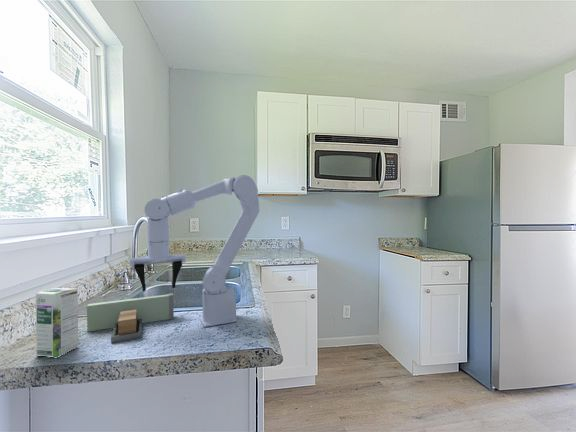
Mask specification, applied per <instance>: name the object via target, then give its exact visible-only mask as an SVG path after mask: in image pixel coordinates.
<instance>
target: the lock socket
mask: <svg viewBox="0 0 576 432" xmlns="http://www.w3.org/2000/svg"><path fill="white" fill-rule="evenodd" d="M137 326H138V331H137V332H134V333H128V334H122V335H118V333H117V332H118V322H117V323H115V325H114V328H112V333H111V335H110V344H114V343H120V341H121V342H126V340H127V341H131V339H133V340H136V339H137V338H138V339H142V333H143V323H142V319H137Z"/></svg>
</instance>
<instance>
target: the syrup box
mask: <svg viewBox="0 0 576 432" xmlns="http://www.w3.org/2000/svg"><path fill="white" fill-rule="evenodd" d="M78 297H79V296H78V288H77V287H76V288H75V287H74V288H70V287H69V288H67V287H66V288H65V287H53V288H49V289H48V288H47V289H45V290H41V291H39V292H36V293H35V321H36V322H35V324H36V325H35V330H36V331H35V333H36V334H35V336H36V338H35V340H36V341H35V343H36V350H35V356H36V355H41V356H53V357H58V356H60V355H62V354H64V353H66V352H68V353H70V352H72V351H74V350H75V349H78V347H79V315H78V313H79V308H78V307H79V306H78V305H79V301H78V300H79V298H78ZM73 349H74V350H73ZM71 350H72V351H71ZM69 351H70V352H69ZM66 354H67V353H66ZM64 355H65V354H64Z"/></svg>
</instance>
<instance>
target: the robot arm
mask: <svg viewBox="0 0 576 432" xmlns="http://www.w3.org/2000/svg"><path fill="white" fill-rule="evenodd" d="M233 193H234V195H235V197H236V198H237V199H238V200H239V205H240V206H241V209H242V211H241V214H240V216H239V217H238V218H237V220H236V223H235V224H234V227H233V229H232V230H231V231H230V234H229V236H228V238H227V239H226V242H225V243H224V245H223V247H222V249H221V251H220V252H219V254H218V256H217V258H216V259H215V261H214V263H213V265H212V266H209V268H207V270H206V271H205V274H204V276H203V277H202V287H203V289H202V292H201V293H202V294H201V295H202V315H201V316H200V317H199V321H200V322H201V325H202V326H203V327H204V328H206V327H213V326H219V325H224V324H229V323H236V322H237V321H238V319H237V297H236V296H237V295H236V291H235V290H234V289H233V288H228V287H227V286H226V277H227V275H228V273H229V271H230V268H231V266H232V264H233V262H234V260H235V258H236V256H237V255H238V253H239V250H240V249H241V247H242V245H243V244H244V242H245V240H246V237H247V235H248V234H249V231H251V228H252V227H253V225H254V223H255V220H257V217H258V216H259V212H260V203H259V189H258V186H257V185H256V183H255V180H254V179H253V178H252V177H251V176H249V175H246V174H241V175H239V176H237V177H235V176H234V177H230V178H229V177H228V178H225V179H222V180H220V181H217V182H215V183H212V184H209V185H207V186H204V187H201V188H199V189H196V190H193V191H190V190H189V189H182V188H179V189H177V191H176V192H174V193H172V194H171V193H170V194H169V195H164V194H163V195H161V196H160V198H152V199H151V200H148V202H146V203H145V205H144V213H145V215H146V217H147V220H146V222H147V224H146V225H147V226H146V235H147V236H146V237H147V239H146V240H147V241H146V242H147V256H142V257H133V258H129V267H134V271H135V273H136V274H137V277H138V279H139V281H140V284H141V289H142V292H146V291H147V290H146V286H147V285H146V280H145V279H146V276H145V274H146V273H145V272H146V271H145V265H146V266H147V265H158V264H159V265H161V264H171V266H172V267H171V270H172V271H171V273H172V276H171V288H172V289H176V283H177V280H178V276H179V273H180V271H181V268H182V267H183V263H186V262H187V256H186V254H173V255H172V254H170V225H169V217H170V216H174V215H178V214H180V213H183V212H186V211H188V210H190V209H194V207H195V206H196V204H197V202H200V201H203V200H206V199H209V198H212V197H215V196H219V195H222V194H223V195H230V196H232V195H233Z"/></svg>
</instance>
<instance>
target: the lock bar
mask: <svg viewBox="0 0 576 432" xmlns="http://www.w3.org/2000/svg"><path fill="white" fill-rule="evenodd" d="M137 330H138V325H137V309H136V310H129V311H122V312H120V315H119V319H118V329H117V332H118V333H117V335H122V334H128V333H134V332H138V331H137Z"/></svg>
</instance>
